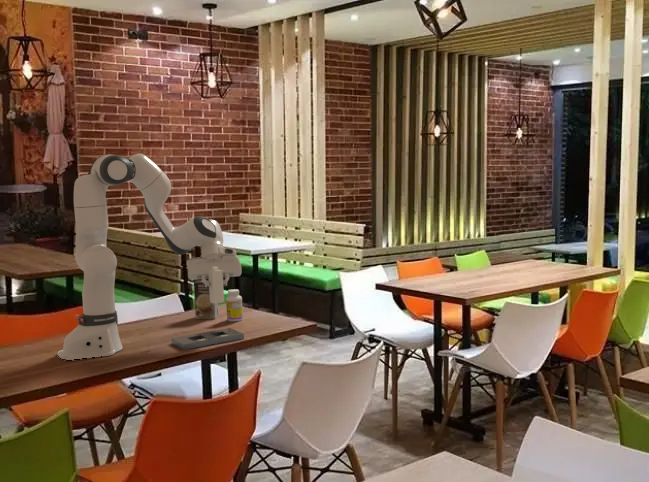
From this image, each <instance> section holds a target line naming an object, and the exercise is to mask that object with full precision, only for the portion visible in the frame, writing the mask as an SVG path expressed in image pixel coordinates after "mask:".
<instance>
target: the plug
mask: <svg viewBox="0 0 649 482" xmlns="http://www.w3.org/2000/svg"><path fill="white" fill-rule="evenodd" d="M208 277H209V279H208V280H209V292H210V302H211V303H214V304H216V303H218V304H221V303H225V290H224V286H223V280H224V277H223V273H222V270H218V267H212V270H211V271H208Z"/></svg>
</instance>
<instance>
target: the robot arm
mask: <svg viewBox="0 0 649 482" xmlns="http://www.w3.org/2000/svg"><path fill="white" fill-rule="evenodd" d="M75 179H76V180H75V181H74V183H73V184H74V186H73V210H74V219H75V231H76V232H75V256H74V258H75V263H76V265H77V267H78V269H80V270H81V271H83V287H82V291H81V296H82V311H83V313H82V314H81V315H80V314H75V316H74V320H75V321H77V322H78V325H77V326H76V327H75V328H74V329H73V330H72V331H70V332H69V333H68V334H66V336H65V337H64V340H63V347H62V349H60V350H58V351H57V355H58V356H59V357H60V358H62V359H66V360H72V361H75V360H74V359H80V360H83V359H82V358H87V359H93V358H92V357H95V358H101V356H102V357H108V356H112V355H114V354H115V353H117V352H120V351H121V350H123V349H124V347H123V345H122V342H121V338H120V334H119V330H118V329H119V328H118V326H119V325H118V322H119V320H118V311H117V310H116V304H115V303H116V301H115V281H116V269H117V265H118V259H117V256H116V254H115V253H114V251H113V250H112V249H110V248H109V247H107V246H108V245H107V240H108V239H107V237H108V230H109V218H108V207H107V206H108V205H107V198H106V194H107V190H108V188H109V187H110V186H120V185H123V184H125V183H126V182H130V183H132V184H133V185H134V186H135V187H136V188H137V189H138V191H139V192H141V194H142V197H143V198H144V202H143V205H144V209H145V210H146V213H147V214H148V216H149V217H150V219H151V220H152V221H153V223H154V224H155V226H156V228H157V229H158V230H159V232H160V233H161V235H162V236H163V238H164V240H165V241H166V243H167V246H168V247H169V249H170V250H171V251H172V252H173V253H176V254H179V255H185V254H187V253H188V252H189V251H191V250H192V249H193V248H194V247H196V246H198V245H200V246H201V256H200V257H199V256H198V257H190V258H188V259H187V260H186V262H185V263H186V267H187V274H188V275H187V277H188V279H189V280H190V281H191V280H192V281H197V280H202V282H203V283H204V284H205V287H209V281H206V280H209V277H208V271H211V270H212V267H218V270H222V273H223V278H225V279H223V287H227V286H228V281H229V280H230V278H231V277H232V278H233V277H240V276H241V275H242V269H243V268H242V264H241V261H240V258H239V256H238V255H237V251H236V249H234V248H233V249H232V248H228V247H224V235H223V231H222V228H221V225H220V223H219V222H218V221H217V220H215V219H211V218H210V219H209V218H206V217H204V216H201V215H196V216H194V217H191V219H189V220H188V221H186V222H185V223H183V224H182V225H180V226H179V227H175V226H174V225H173V224H172V222H171V220H170V219H169V218H168V216H167V215H166V214H165V212H164V210H163V207H164V204H165V203H166V201H167V200H168V198H169V196H170V195H171V191H172V183H171V180H170V179H169V177H168V176H167V174H166V173H165V172H164V170H162V169H161V168H160V166H158V165H157V164H156V163H155V162H154V161H152V159H151V158H149V156H146V155H145V154H143V153H136V154H135V153H134V154H133V155H131V156H130V157H128V158H127V157H125V156H121V155H118V154H109V153H108V154H104V155H101V156H99V157H98V156H97V158H95V160H94V161H93V162H92V164H91V166H90V169H89V170H88V173H87V174H84V175H80V176H79V177H77V178H75ZM57 355H56V356H57ZM58 356H57V357H58ZM59 357H58V358H59ZM60 358H59V359H60ZM62 359H61V360H62ZM66 360H65V361H66Z"/></svg>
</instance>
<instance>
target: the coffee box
mask: <svg viewBox="0 0 649 482" xmlns="http://www.w3.org/2000/svg"><path fill="white" fill-rule="evenodd" d="M206 281H209V279H206ZM193 293H194V297H193V298H194V313H195V316H194V317H195V318H194V319H195V320H217V318H218V317H219V303H216V304H214V303H211V302H210V292H209V287H205V284H204V283H203V282H202V279H196V280H194V281H193Z"/></svg>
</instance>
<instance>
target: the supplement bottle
mask: <svg viewBox="0 0 649 482" xmlns="http://www.w3.org/2000/svg"><path fill="white" fill-rule="evenodd" d="M227 294H228V296H226V298H225V300H226V301H225V304H226V306H225V307H226V320H227V321H228V322H231V323H232V322H234V323H235V322H240V321H243V319H244V317H243V316H244V315H243V314H244V313H243V297H242V296H241V295H240V290H239V289H237V288H236V289H235V288H234V289H228V290H227Z"/></svg>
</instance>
